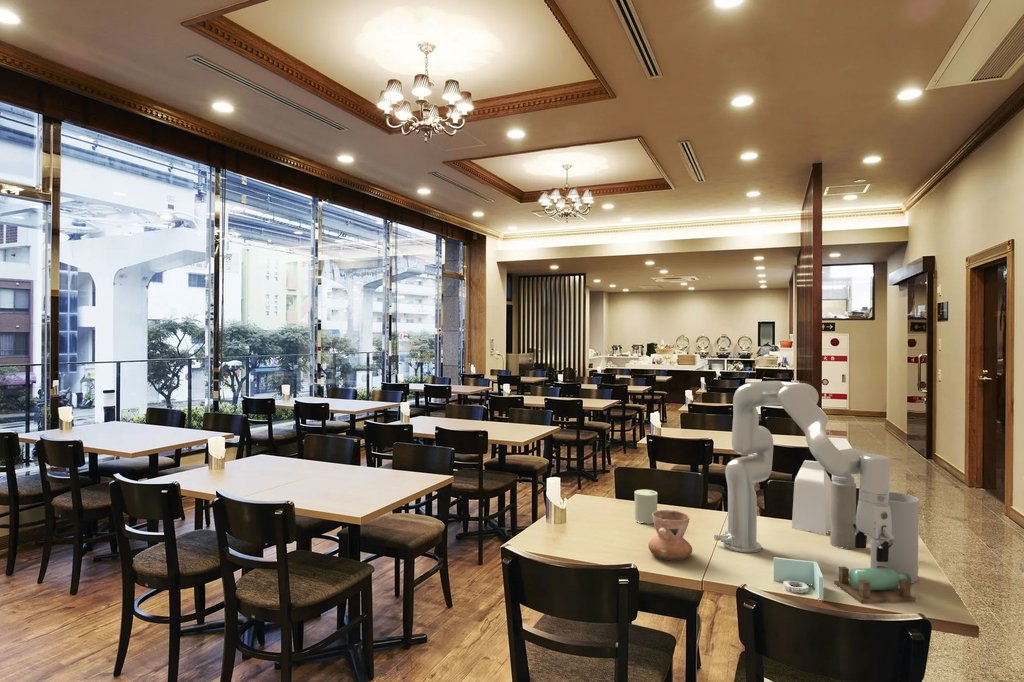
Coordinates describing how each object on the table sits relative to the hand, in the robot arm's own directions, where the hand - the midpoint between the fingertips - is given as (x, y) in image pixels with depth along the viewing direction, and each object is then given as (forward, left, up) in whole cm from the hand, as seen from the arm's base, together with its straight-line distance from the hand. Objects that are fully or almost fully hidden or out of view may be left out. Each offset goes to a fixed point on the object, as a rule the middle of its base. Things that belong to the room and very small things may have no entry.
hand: (871, 554), depth 177 cm
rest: (0, -1, -11) cm, 11 cm away
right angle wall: (-21, +2, -12) cm, 24 cm away
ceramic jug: (-50, +31, -11) cm, 60 cm away
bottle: (+3, -1, -10) cm, 10 cm away
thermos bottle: (+15, +38, -11) cm, 43 cm away
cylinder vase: (+14, +10, -11) cm, 21 cm away
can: (-48, +69, -11) cm, 85 cm away
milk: (+15, +57, -11) cm, 60 cm away
